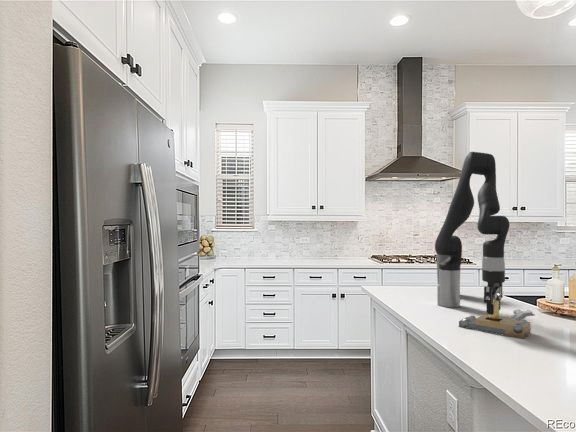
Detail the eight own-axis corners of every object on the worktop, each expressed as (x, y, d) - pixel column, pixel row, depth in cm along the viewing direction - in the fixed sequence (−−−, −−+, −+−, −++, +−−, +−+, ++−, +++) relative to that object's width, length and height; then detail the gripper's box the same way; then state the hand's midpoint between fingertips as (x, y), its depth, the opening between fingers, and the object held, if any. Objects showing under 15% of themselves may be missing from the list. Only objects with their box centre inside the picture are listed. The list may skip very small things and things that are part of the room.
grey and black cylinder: (464, 297, 199) (464, 230, 199) (438, 296, 201) (438, 230, 201) (457, 292, 211) (457, 230, 211) (433, 292, 213) (433, 230, 214)
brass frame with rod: (458, 326, 146) (458, 315, 146) (467, 321, 153) (467, 310, 153) (524, 339, 131) (524, 326, 131) (530, 332, 138) (530, 320, 138)
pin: (487, 329, 142) (487, 300, 142) (490, 327, 145) (490, 299, 145) (497, 331, 140) (497, 301, 140) (500, 329, 142) (500, 300, 142)
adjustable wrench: (512, 325, 149) (512, 321, 149) (495, 322, 154) (495, 318, 154) (533, 314, 166) (533, 310, 166) (517, 311, 170) (517, 307, 170)
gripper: (488, 266, 150) (488, 307, 150) (476, 269, 140) (476, 313, 140) (509, 267, 145) (510, 310, 145) (498, 271, 135) (499, 317, 135)
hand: (493, 312), depth 142 cm, fingers open, 8 cm apart
